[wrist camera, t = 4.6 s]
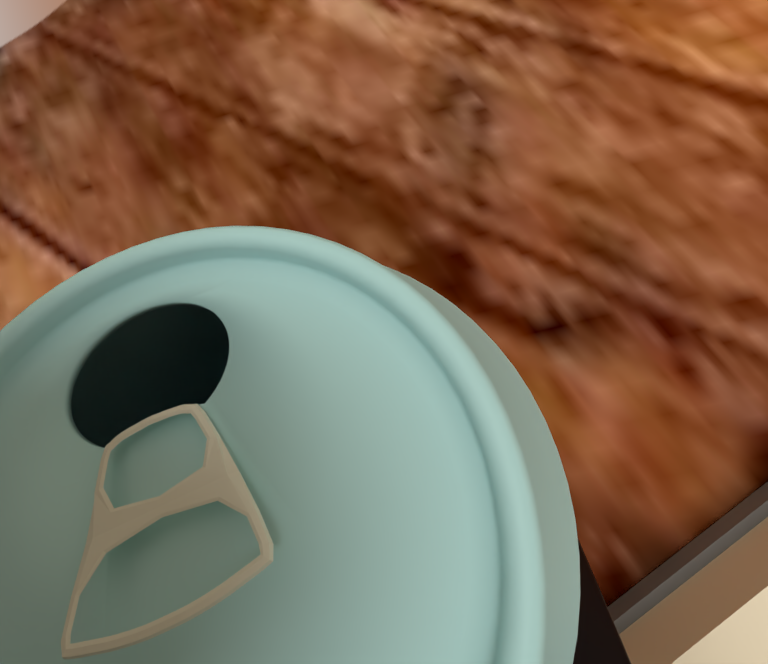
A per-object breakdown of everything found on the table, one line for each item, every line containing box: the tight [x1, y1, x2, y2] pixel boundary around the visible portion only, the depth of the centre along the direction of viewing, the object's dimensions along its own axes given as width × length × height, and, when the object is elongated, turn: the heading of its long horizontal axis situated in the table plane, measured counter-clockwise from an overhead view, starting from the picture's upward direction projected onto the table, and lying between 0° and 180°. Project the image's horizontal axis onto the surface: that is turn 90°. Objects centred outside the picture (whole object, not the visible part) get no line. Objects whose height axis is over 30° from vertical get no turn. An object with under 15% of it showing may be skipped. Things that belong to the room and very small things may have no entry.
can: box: [0, 226, 580, 664], centre depth 9 cm, size 7×7×12 cm
